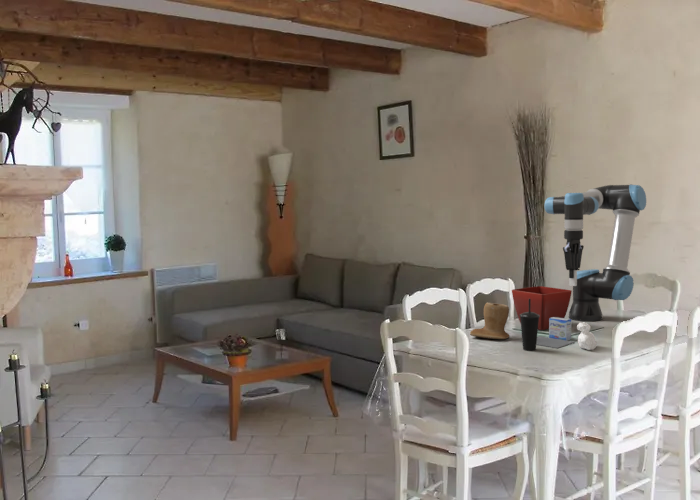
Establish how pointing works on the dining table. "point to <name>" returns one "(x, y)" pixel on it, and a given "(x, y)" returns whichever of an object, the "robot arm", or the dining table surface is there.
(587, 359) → the dining table surface
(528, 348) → the drinking cup
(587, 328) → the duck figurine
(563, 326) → the medicine box
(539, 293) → the plant pot
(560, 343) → the mat
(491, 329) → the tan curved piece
